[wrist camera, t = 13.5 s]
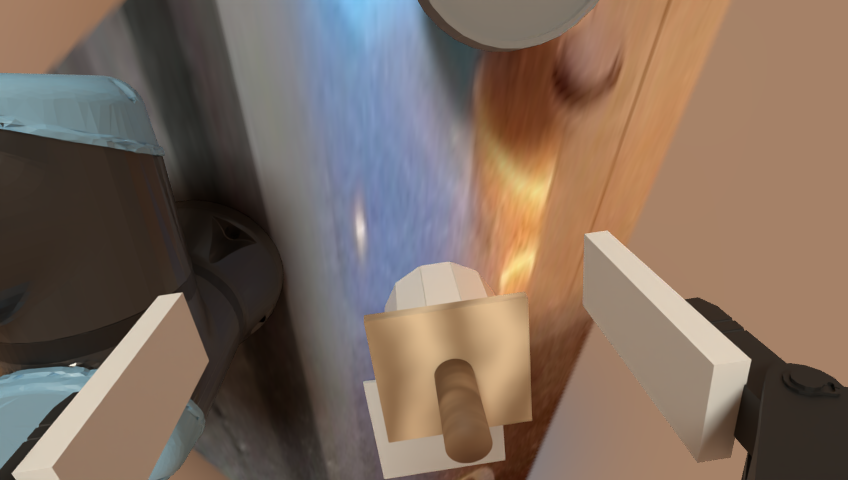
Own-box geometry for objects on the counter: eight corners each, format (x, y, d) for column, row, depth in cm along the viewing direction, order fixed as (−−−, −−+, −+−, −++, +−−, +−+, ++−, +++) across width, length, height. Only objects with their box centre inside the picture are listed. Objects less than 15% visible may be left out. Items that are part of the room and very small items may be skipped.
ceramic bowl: (394, 362, 55) (397, 425, 46) (378, 271, 50) (377, 323, 41) (497, 347, 55) (518, 406, 46) (490, 255, 50) (514, 303, 41)
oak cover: (388, 434, 46) (390, 521, 38) (364, 315, 41) (360, 387, 32) (529, 412, 47) (560, 494, 39) (524, 291, 41) (560, 357, 33)
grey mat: (384, 476, 62) (384, 479, 62) (363, 381, 55) (363, 383, 55) (504, 457, 62) (505, 460, 62) (498, 360, 56) (498, 363, 55)
